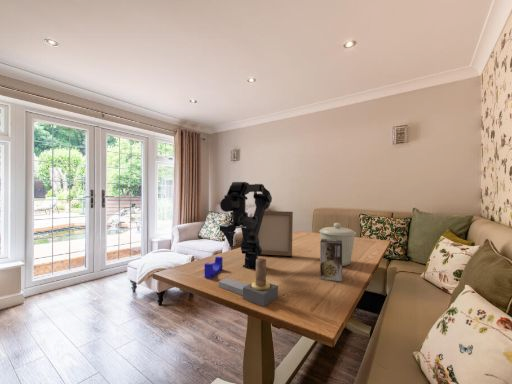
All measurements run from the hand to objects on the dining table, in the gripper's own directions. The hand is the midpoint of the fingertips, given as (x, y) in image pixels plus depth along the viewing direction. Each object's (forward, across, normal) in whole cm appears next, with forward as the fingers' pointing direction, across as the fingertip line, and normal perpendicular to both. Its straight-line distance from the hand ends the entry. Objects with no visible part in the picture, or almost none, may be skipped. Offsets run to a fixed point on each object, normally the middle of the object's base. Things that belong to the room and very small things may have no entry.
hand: (238, 245), depth 107 cm
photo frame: (+13, +39, +7) cm, 42 cm away
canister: (+13, +44, -29) cm, 54 cm away
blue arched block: (+13, -6, +10) cm, 18 cm away
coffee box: (+13, +22, -34) cm, 43 cm away
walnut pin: (+12, -12, -22) cm, 28 cm away
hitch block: (+13, -13, -14) cm, 23 cm away
